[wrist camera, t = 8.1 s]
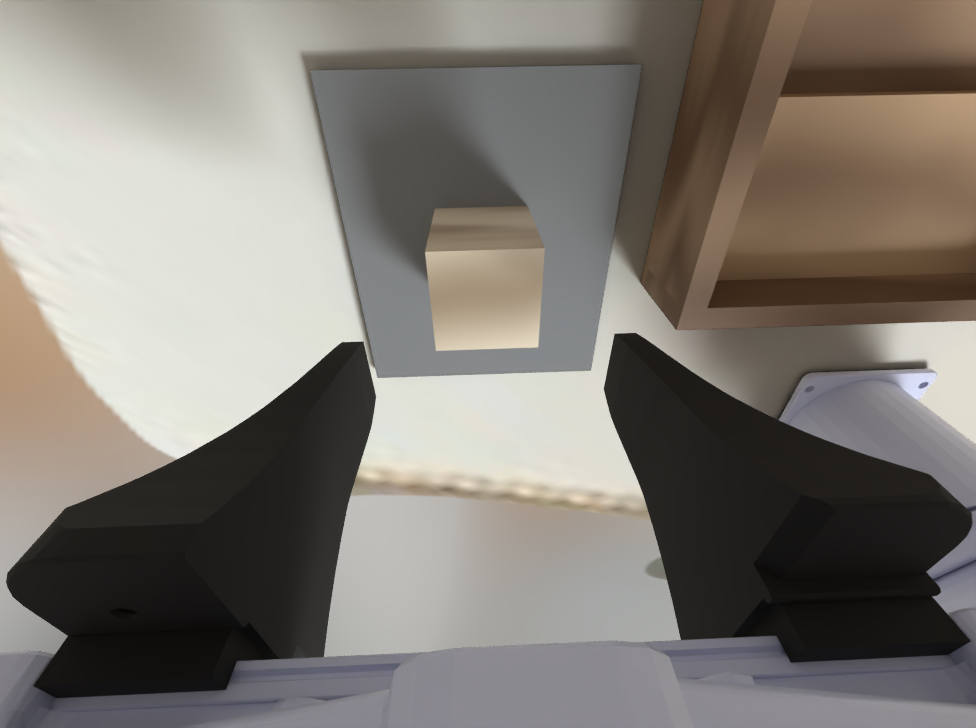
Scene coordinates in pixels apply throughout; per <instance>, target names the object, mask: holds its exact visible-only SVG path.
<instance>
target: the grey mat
mask: <svg viewBox="0 0 976 728" xmlns="http://www.w3.org/2000/svg"><path fill="white" fill-rule="evenodd" d="M641 69H642V64H627V65H572V66H516V67H461V68H406V69H351V70H310V74H311V78H312V83H313V88H314V92H315V97H316V101H317V106H318V110H319V115H320V119H321V124H322V128H323V133H324V137H325V142H326V146H327V151H328V156H329V160H330V165H331V169H332V174H333V178H334V183H335V187H336V192H337V196H338V201H339V205H340V210H341V214H342V219H343V224H344V228H345V233H346V237H347V242H348V246H349V251H350V255H351V260H352V264H353V269H354V273H355V278H356V282H357V287H358V292H359V296H360V301H361V305H362V310H363V314H364V319H365V323H366V328H367V332H368V337H369V341H370V346H371V351H372V355H373V360H374V364H375V369H376V373H377V378H387V377H416V376H445V375H475V374H504V373H533V372H562V371H591V367H592V361H593V355H594V349H595V343H596V337H597V331H598V325H599V319H600V313H601V307H602V301H603V295H604V289H605V284H606V278H607V272H608V266H609V260H610V254H611V248H612V242H613V236H614V230H615V224H616V218H617V212H618V206H619V200H620V194H621V188H622V182H623V176H624V170H625V164H626V158H627V153H628V147H629V141H630V135H631V129H632V123H633V117H634V111H635V105H636V99H637V93H638V87H639V81H640V75H641ZM505 206H528V208H529V210H530V213H531V215H532V218H533V220H534V223H535V225H536V228H537V230H538V233H539V235H540V238H541V240H542V243H543V245H544V247H545V253H544V268H543V283H542V298H541V313H540V328H539V342H538V347H535V348H506V349H477V350H448V351H436V347H435V338H434V329H433V320H432V311H431V302H430V293H429V283H428V274H427V265H426V256H425V250H426V245H427V241H428V237H429V232H430V228H431V223H432V219H433V215H434V210H435V208H469V207H505Z"/></svg>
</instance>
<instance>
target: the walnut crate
mask: <svg viewBox="0 0 976 728" xmlns="http://www.w3.org/2000/svg"><path fill="white" fill-rule="evenodd" d="M641 285H642V286H643V287H644V289H645V290H646V291H647V292H648V294H649V295H650V296H651V298H652V299H653V300H654V302H655V303H656V304H657V305H658V307H659V308H660V309H661V311H662V312H663V313H664V314H665V316H666V317H667V318H668V320H669V321H670V322H671V324H672V325H673V326H674V327H675V329H676V330H698V329H729V328H760V327H791V326H822V325H853V324H884V323H915V322H946V321H976V0H704V1H703V5H702V10H701V14H700V19H699V23H698V28H697V32H696V37H695V41H694V45H693V50H692V54H691V59H690V63H689V68H688V72H687V77H686V81H685V86H684V90H683V95H682V99H681V104H680V108H679V113H678V117H677V122H676V126H675V131H674V135H673V140H672V144H671V149H670V153H669V158H668V162H667V167H666V171H665V176H664V180H663V185H662V189H661V194H660V198H659V203H658V207H657V212H656V216H655V221H654V225H653V230H652V234H651V239H650V243H649V248H648V252H647V257H646V261H645V266H644V270H643V275H642V279H641Z"/></svg>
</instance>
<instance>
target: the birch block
mask: <svg viewBox="0 0 976 728" xmlns="http://www.w3.org/2000/svg"><path fill="white" fill-rule="evenodd" d="M544 253H545V247H544V245H543V243H542V240H541V238H540V235H539V233H538V230H537V228H536V225H535V223H534V220H533V218H532V215H531V213H530V210H529V208H528V206H505V207H469V208H435V210H434V215H433V219H432V223H431V228H430V232H429V237H428V241H427V245H426V250H425V256H426V265H427V274H428V283H429V293H430V302H431V311H432V320H433V329H434V338H435V347H436V351H448V350H477V349H506V348H535V347H538V342H539V328H540V313H541V298H542V283H543V268H544Z"/></svg>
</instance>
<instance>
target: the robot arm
mask: <svg viewBox="0 0 976 728" xmlns="http://www.w3.org/2000/svg"><path fill="white" fill-rule="evenodd" d="M936 377H937V373H936V372H935V371H933V370H932V369H903V370H874V371H845V372H816V373H809V374H807V375H805V376H804V377H803V378H802V379H801V381H800V383H799V385H798V386H797V388H796V390H795V392H794V393H793V395H792V397H791V399H790V401H789V402H788V404H787V406H786V408H785V410H784V411H783V413H782V415H781V417H780V419H779V420H777V419H775V418H773V417H770V416H768V415H766V414H764V413H762V412H760V411H758V410H756V409H754V408H752V407H750V406H749V405H747V404H745V403H743V402H741V401H739V400H737V399H735V398H734V397H732V396H730V395H728V394H726V393H725V392H723V391H721V390H720V389H718V388H717V387H715V386H713V385H712V384H710V383H708V382H707V381H705V380H704V379H702V378H701V377H699V376H697V375H696V374H694V373H693V372H691V371H690V370H688V369H687V368H686V367H684V366H683V365H681V364H680V363H678V362H677V361H675V360H674V359H673V358H671V357H670V356H668V355H667V354H666V353H664V352H663V351H661V350H660V349H659V348H657V347H656V346H654V345H653V344H652V343H650V342H649V341H647V340H646V339H644V338H643V337H641V336H640V335H638V334H636V333H624V334H615V335H614V340H613V345H612V350H611V355H610V360H609V365H608V370H607V376H606V381H605V386H604V391H605V395H606V399H607V404H608V407H609V411H610V414H611V418H612V420H613V423H614V425H615V428H616V430H617V433H618V435H619V437H620V440H621V442H622V444H623V447H624V449H625V451H626V454H627V456H628V458H629V461H630V463H631V465H632V468H633V470H634V473H635V475H636V477H637V480H638V482H639V485H640V487H641V490H642V493H643V495H644V498H645V502H646V505H647V508H648V512H649V515H650V518H651V522H652V525H653V528H654V532H655V536H656V539H657V543H658V546H659V550H660V553H661V557H662V561H663V565H664V569H665V573H666V577H667V581H668V585H669V589H670V593H671V597H672V601H673V606H674V610H675V615H676V619H677V623H678V629H679V633H680V637H681V640H676V641H653V642H625V641H597V642H596V641H594V642H575V643H574V642H572V643H551V644H530V645H509V646H489V647H467V648H452V649H445V650H439V651H433V652H421V653H399V654H380V655H356V656H336V657H324V649H325V642H326V633H327V626H328V617H329V611H330V604H331V597H332V590H333V584H334V577H335V570H336V565H337V559H338V554H339V548H340V542H341V536H342V531H343V526H344V521H345V516H346V511H347V506H348V502H349V498H350V495H351V491H352V488H353V485H354V481H355V478H356V475H357V472H358V469H359V465H360V462H361V459H362V456H363V452H364V449H365V446H366V443H367V439H368V436H369V433H370V429H371V425H372V419H373V414H374V407H375V400H376V395H375V390H374V386H373V382H372V377H371V373H370V369H369V364H368V360H367V356H366V351H365V347H364V343H363V342H342V343H340V344H339V345H338V346H337V347H336V348H334V349H333V350H332V351H331V352H330V353H329V354H327V355H326V356H325V357H324V358H323V359H322V360H321V361H320V362H319V363H317V364H316V365H315V366H314V367H313V368H312V369H311V370H309V371H308V372H307V373H306V374H305V375H304V376H303V377H301V378H300V379H299V380H298V381H297V382H296V383H294V384H293V385H292V386H291V387H289V388H288V389H287V390H285V391H284V392H283V393H282V394H280V395H279V396H278V397H277V398H275V399H274V400H273V401H272V402H270V403H269V404H268V405H266V406H265V407H264V408H262V409H261V410H259V411H258V412H257V413H255V414H254V415H252V416H251V417H249V418H248V419H246V420H245V421H243V422H242V423H240V424H239V425H237V426H236V427H234V428H232V429H231V430H229V431H228V432H226V433H224V434H223V435H221V436H219V437H217V438H215V439H214V440H212V441H210V442H208V443H207V444H205V445H203V446H201V447H200V448H198V449H196V450H194V451H193V452H191V453H189V454H187V455H185V456H183V457H181V458H179V459H177V460H175V461H173V462H171V463H169V464H167V465H166V466H163V467H161V468H159V469H157V470H155V471H153V472H151V473H148V474H146V475H144V476H142V477H140V478H138V479H135V480H133V481H131V482H129V483H126V484H124V485H122V486H119V487H117V488H114V489H112V490H110V491H107V492H105V493H102V494H100V495H97V496H95V497H93V498H90V499H88V500H85V501H83V502H80V503H78V504H75V505H73V506H70V507H67V508H66V509H64V511H63V512H62V513H61V514H60V515H59V516H58V517H57V519H55V521H54V522H53V523H52V524H51V525H50V527H48V528H47V530H46V531H45V532H44V533H43V534H42V535H41V536H40V537H39V539H37V541H36V542H35V543H34V544H33V545H32V546H31V547H30V548H29V549H28V551H27V552H26V553H25V554H24V555H23V556H22V557H21V558H20V560H19V561H18V562H17V563H16V564H15V565H14V566H13V567H12V569H11V570H10V571H9V572H8V574H7V580H6V583H7V586H8V589H9V591H10V592H11V594H12V596H13V597H14V598H15V599H16V600H17V601H18V602H20V603H21V604H22V605H23V606H25V607H26V608H28V609H29V610H31V611H32V612H34V613H35V614H36V615H38V616H39V617H41V618H42V619H44V620H45V621H47V622H48V623H50V624H51V625H53V626H54V627H56V628H57V629H59V630H60V631H62V632H63V633H65V634H66V635H68V637H67V638H66V640H65V641H64V643H63V644H62V646H61V647H60V649H59V650H58V651H57V653H56V654H55V655H53V654H50V653H46V652H41V651H15V652H0V728H976V444H975V443H973V442H972V441H971V440H969V439H968V438H967V437H965V436H964V435H963V434H961V433H960V432H959V431H958V430H956V429H955V428H954V427H952V426H951V425H950V424H948V423H947V422H946V421H944V420H943V419H942V418H940V417H939V416H938V415H936V414H935V413H934V412H932V411H931V410H930V409H928V408H927V407H926V406H924V405H923V404H922V403H921V402H919V401H918V400H919V399H920V398H921V396H922V395H923V394H924V393H925V391H926V390H927V389H928V388H929V386H930V385H931V384H932V383H933V381H934V380H935V379H936Z"/></svg>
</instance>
